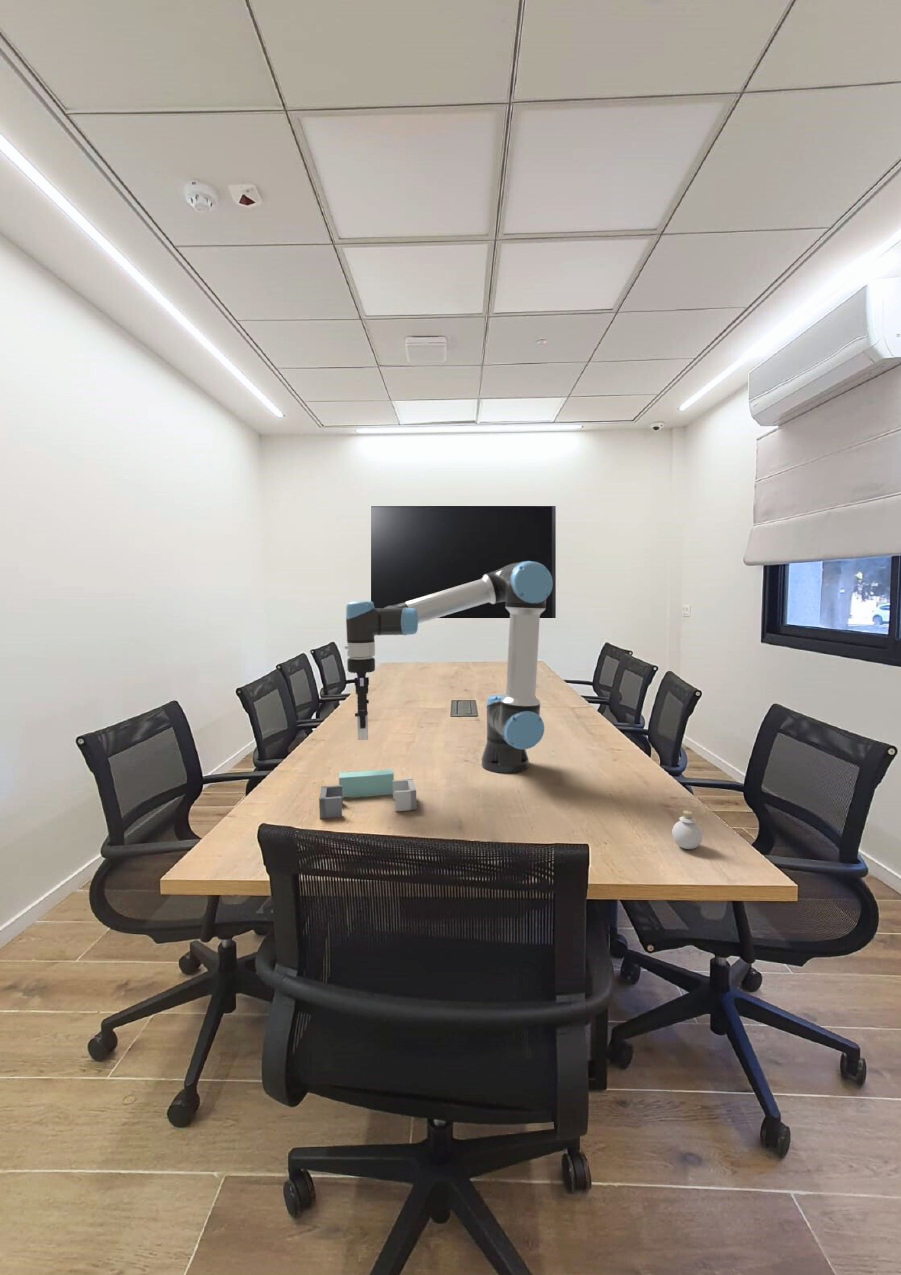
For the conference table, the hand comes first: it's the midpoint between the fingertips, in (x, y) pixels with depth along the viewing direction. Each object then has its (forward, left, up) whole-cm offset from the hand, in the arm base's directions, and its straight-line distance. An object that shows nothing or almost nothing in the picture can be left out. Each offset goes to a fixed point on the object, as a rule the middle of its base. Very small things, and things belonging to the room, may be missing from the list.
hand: (362, 733), depth 151 cm
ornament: (-70, +46, -18) cm, 86 cm away
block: (-1, 0, -18) cm, 18 cm away
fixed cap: (+8, +10, -17) cm, 22 cm away
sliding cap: (-11, +10, -17) cm, 23 cm away
